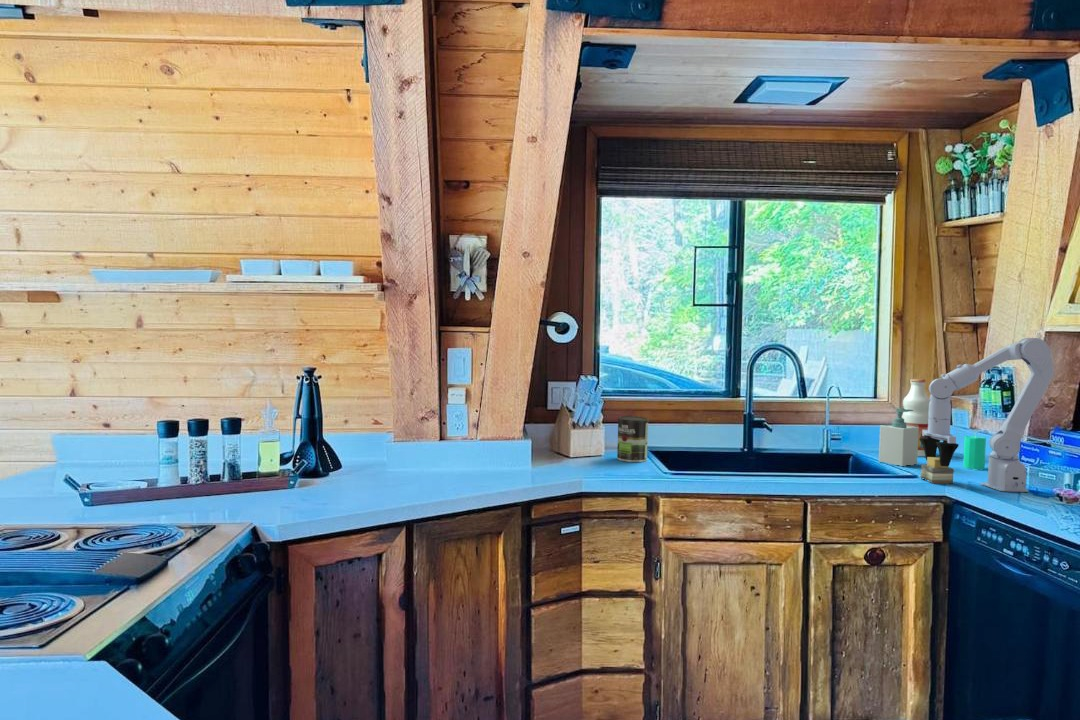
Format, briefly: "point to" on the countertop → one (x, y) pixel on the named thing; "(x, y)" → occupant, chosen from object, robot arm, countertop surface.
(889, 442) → the soap bottle
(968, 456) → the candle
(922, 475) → the tower base
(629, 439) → the coffee can
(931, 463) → the ochre block
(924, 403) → the fruit juice
